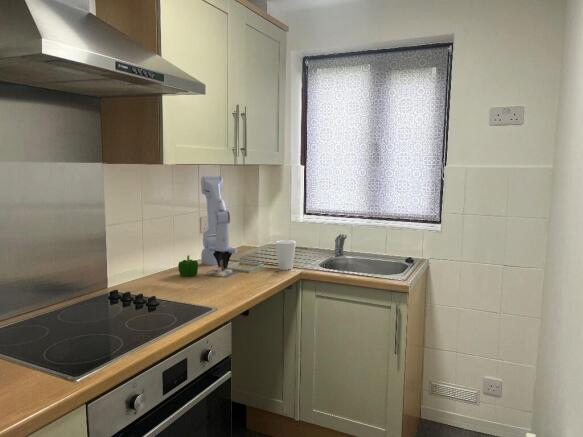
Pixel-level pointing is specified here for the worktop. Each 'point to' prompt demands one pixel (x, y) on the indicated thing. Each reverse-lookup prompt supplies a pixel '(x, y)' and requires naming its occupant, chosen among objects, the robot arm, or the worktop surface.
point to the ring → (216, 273)
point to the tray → (245, 264)
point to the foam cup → (285, 253)
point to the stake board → (225, 275)
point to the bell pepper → (188, 268)
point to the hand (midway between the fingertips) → (222, 268)
